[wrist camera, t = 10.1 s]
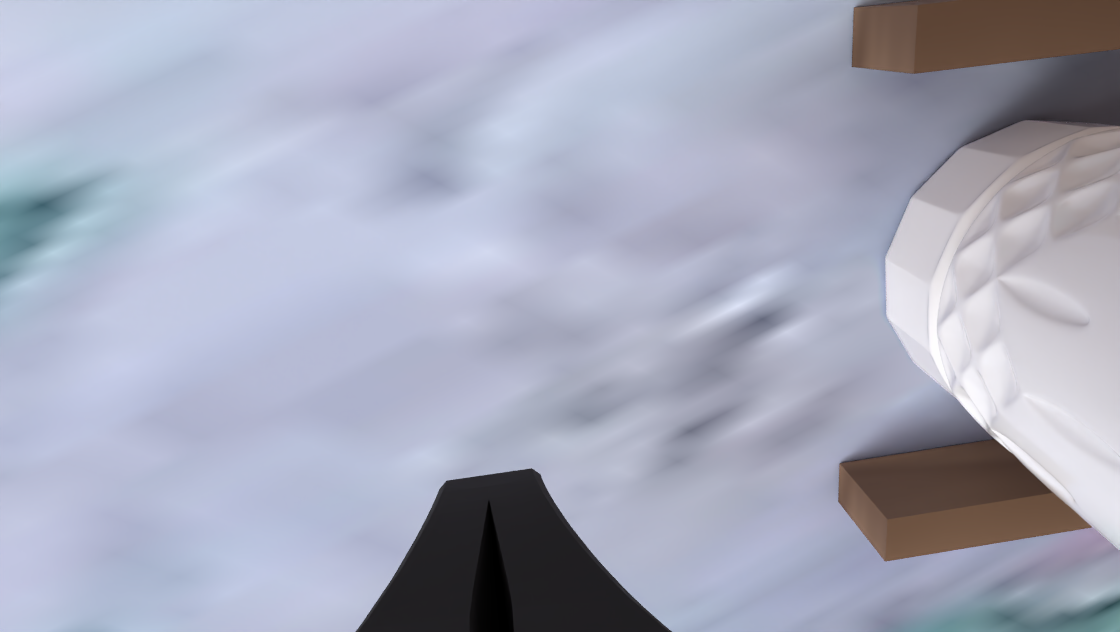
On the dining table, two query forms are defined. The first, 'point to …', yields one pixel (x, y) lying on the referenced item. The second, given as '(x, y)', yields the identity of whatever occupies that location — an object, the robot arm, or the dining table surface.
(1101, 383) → the white cup
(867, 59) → the bar
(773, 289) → the dining table surface
